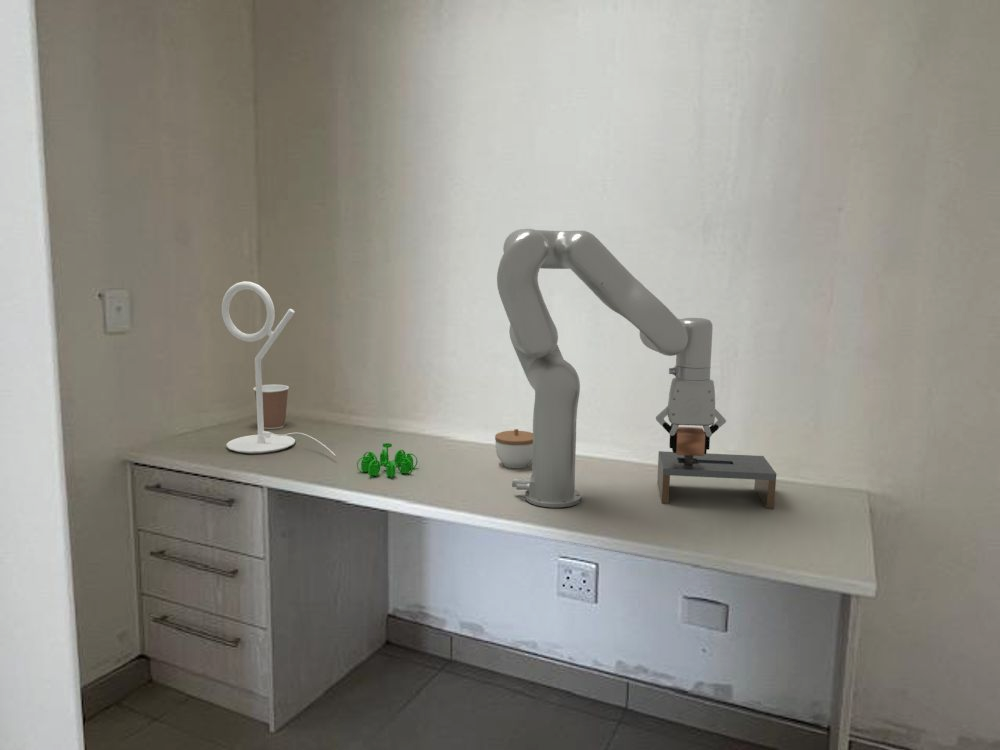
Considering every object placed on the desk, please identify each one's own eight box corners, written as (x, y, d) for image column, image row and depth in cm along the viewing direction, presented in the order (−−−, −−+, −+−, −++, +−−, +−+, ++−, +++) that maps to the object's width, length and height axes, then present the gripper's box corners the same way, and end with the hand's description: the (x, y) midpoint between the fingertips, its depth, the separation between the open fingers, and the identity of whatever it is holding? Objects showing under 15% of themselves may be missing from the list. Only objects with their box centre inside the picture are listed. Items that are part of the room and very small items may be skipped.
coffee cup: (295, 423, 243) (293, 384, 241) (282, 431, 233) (281, 391, 231) (262, 421, 244) (261, 383, 242) (249, 429, 234) (247, 390, 231)
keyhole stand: (661, 503, 174) (663, 468, 172) (657, 483, 188) (658, 451, 186) (773, 509, 171) (776, 473, 170) (760, 488, 185) (763, 455, 183)
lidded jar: (490, 460, 205) (490, 425, 204) (529, 457, 208) (530, 423, 206) (500, 472, 195) (501, 435, 193) (541, 469, 198) (542, 433, 196)
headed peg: (675, 475, 177) (677, 433, 175) (673, 467, 182) (675, 426, 181) (703, 476, 176) (705, 434, 174) (699, 468, 182) (702, 427, 180)
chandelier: (429, 468, 199) (429, 441, 197) (394, 484, 186) (393, 456, 184) (381, 459, 206) (381, 434, 204) (344, 474, 193) (343, 447, 191)
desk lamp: (208, 450, 211) (198, 282, 203) (248, 434, 228) (241, 278, 220) (332, 464, 200) (327, 286, 192) (365, 446, 217) (362, 282, 209)
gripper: (654, 375, 172) (651, 455, 176) (735, 377, 170) (730, 458, 174) (652, 369, 180) (649, 446, 183) (729, 371, 178) (725, 449, 181)
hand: (689, 451), depth 178 cm, fingers closed on headed peg, 6 cm apart
